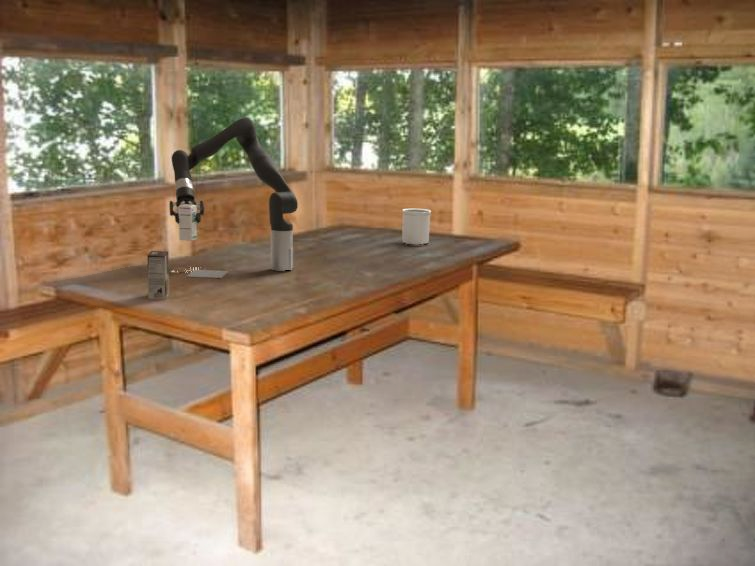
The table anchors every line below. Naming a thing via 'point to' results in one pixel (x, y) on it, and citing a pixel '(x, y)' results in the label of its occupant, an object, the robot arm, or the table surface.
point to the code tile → (188, 270)
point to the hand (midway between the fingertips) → (188, 222)
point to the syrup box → (188, 222)
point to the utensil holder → (416, 225)
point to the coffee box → (158, 275)
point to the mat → (207, 274)
